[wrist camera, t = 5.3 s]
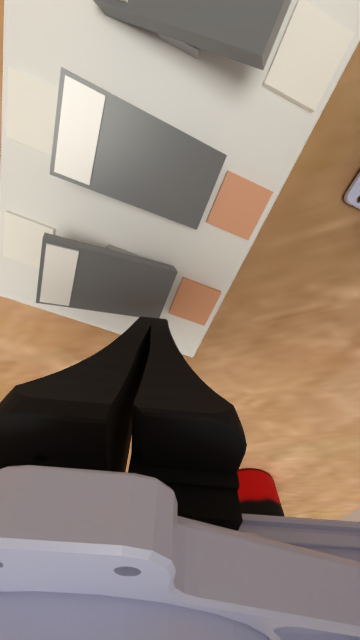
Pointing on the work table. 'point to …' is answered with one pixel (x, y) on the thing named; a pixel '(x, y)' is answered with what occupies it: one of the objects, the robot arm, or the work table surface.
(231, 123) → the console
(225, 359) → the work table surface
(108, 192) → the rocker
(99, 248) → the block
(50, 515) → the robot arm
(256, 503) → the soda can
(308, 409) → the work table surface
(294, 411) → the work table surface
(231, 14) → the block
